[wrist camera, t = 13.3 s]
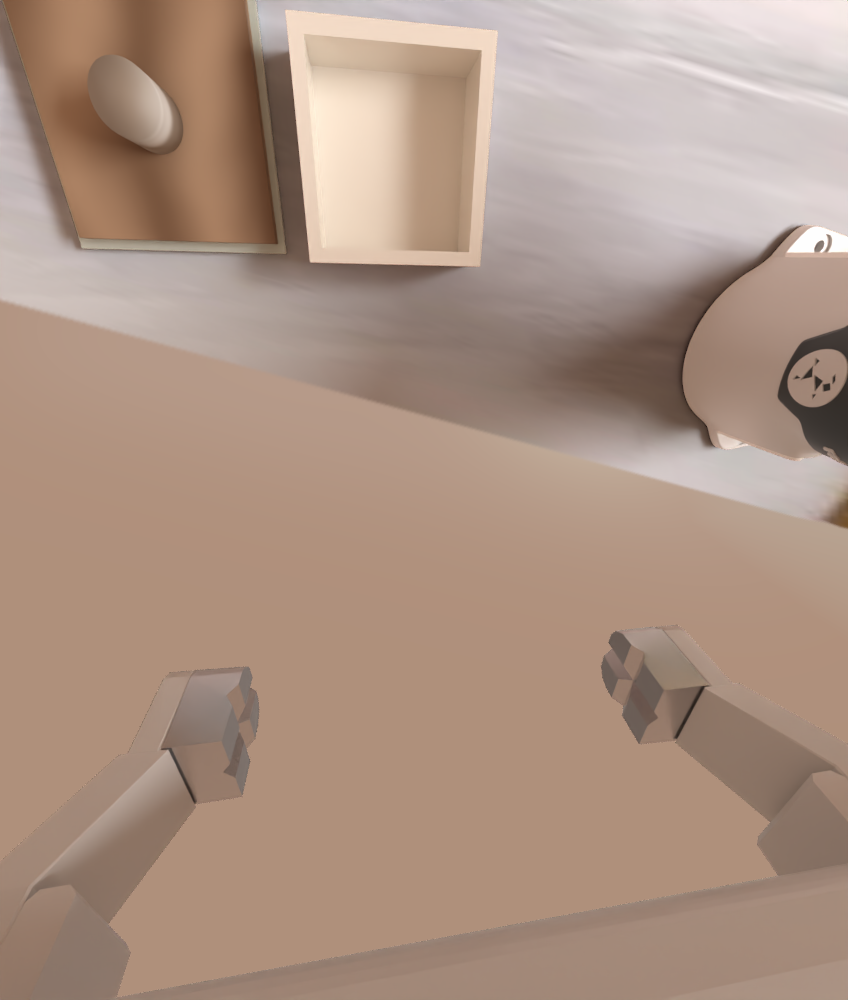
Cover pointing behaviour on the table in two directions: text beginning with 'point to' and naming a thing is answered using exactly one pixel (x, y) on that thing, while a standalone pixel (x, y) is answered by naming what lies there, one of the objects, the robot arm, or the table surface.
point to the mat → (267, 127)
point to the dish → (392, 137)
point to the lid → (151, 116)
